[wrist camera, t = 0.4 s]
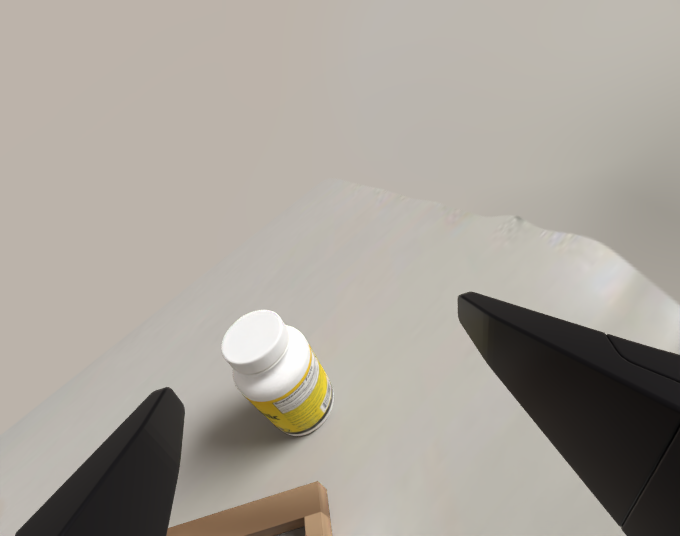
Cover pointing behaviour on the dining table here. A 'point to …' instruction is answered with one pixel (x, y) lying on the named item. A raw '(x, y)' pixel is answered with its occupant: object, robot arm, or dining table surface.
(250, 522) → the frame
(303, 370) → the supplement bottle
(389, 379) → the dining table surface
